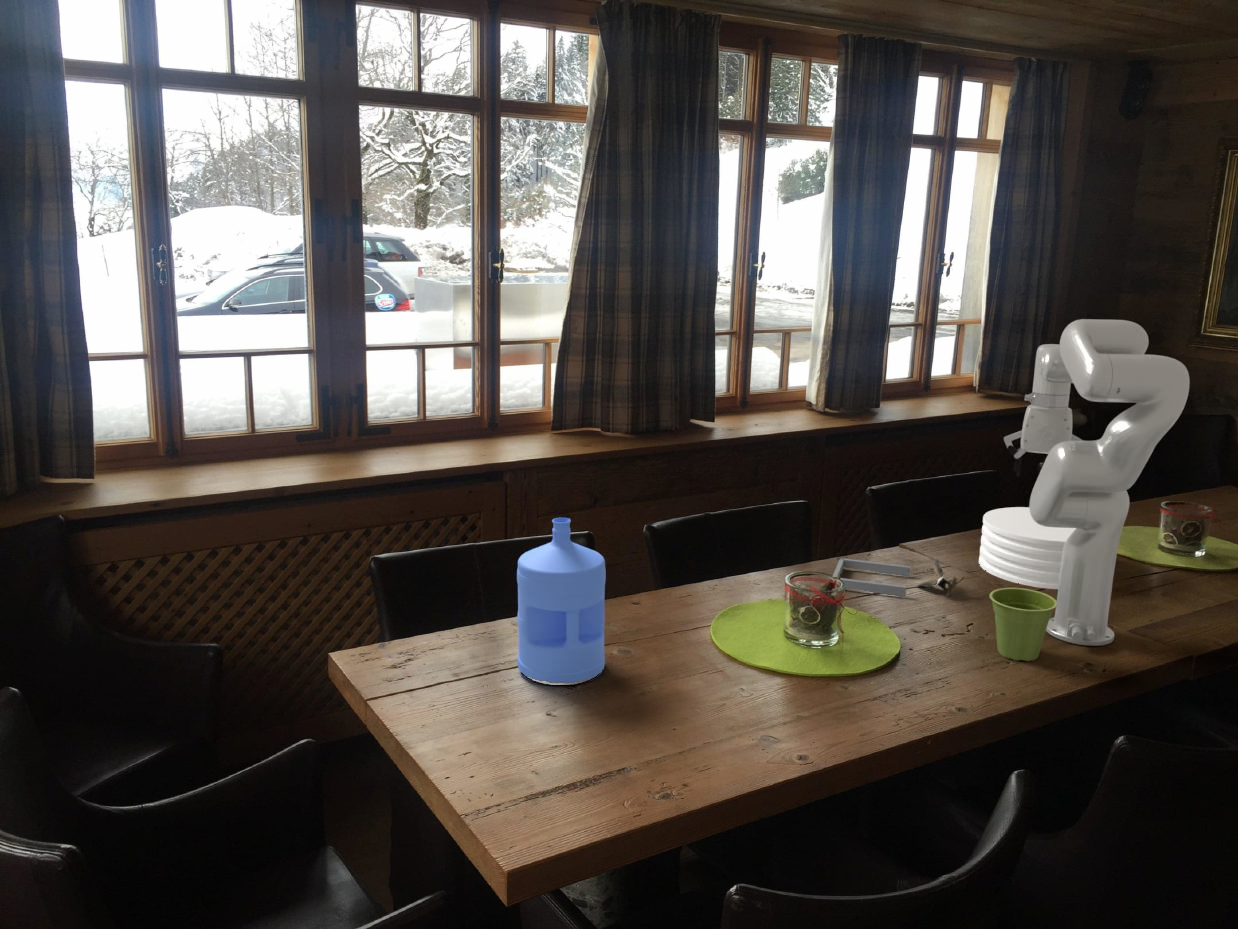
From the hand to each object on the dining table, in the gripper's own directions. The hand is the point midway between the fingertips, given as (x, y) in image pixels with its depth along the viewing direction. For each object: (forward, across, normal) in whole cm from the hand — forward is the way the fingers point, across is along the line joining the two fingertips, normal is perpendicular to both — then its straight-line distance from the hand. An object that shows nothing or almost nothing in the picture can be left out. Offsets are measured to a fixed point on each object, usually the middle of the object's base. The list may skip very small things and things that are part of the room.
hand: (1041, 477), depth 223 cm
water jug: (+26, -79, -83) cm, 118 cm away
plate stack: (+25, +2, +12) cm, 28 cm away
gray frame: (+25, -34, -14) cm, 44 cm away
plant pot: (+26, -3, -43) cm, 51 cm away
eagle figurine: (+25, -19, -14) cm, 35 cm away
